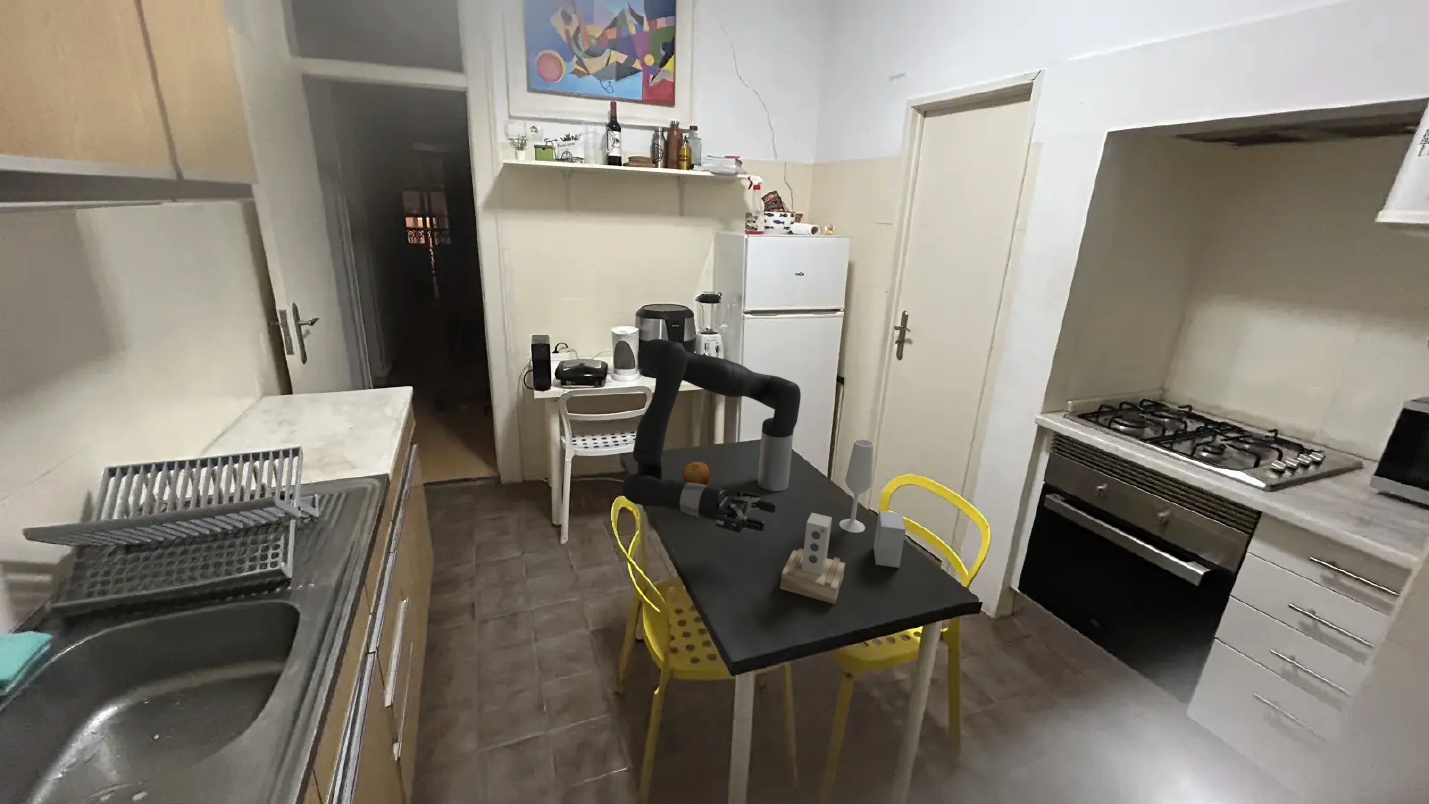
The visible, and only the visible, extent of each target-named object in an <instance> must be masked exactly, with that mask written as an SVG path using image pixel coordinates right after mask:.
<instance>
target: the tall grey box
mask: <svg viewBox="0 0 1429 804" xmlns="http://www.w3.org/2000/svg"><path fill="white" fill-rule="evenodd" d="M832 519H833V517H831V516H827V515H824V514H819V513H815V512H814V513H813V512H811V513H810V516H809V517H808V519H807V521H806V527H805V535H804V536H805V537H804V543H803V549H804V552H803V561H802V570H803V571H807V572H811V573H814V574H818V575H822V573H823V571H824V568H825V566H826V560H827V558H828V550H829V545H830V536H831V528H832V522H833V520H832Z"/></svg>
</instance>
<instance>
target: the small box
mask: <svg viewBox="0 0 1429 804" xmlns="http://www.w3.org/2000/svg"><path fill="white" fill-rule="evenodd" d="M905 525H906V524H905V521H904V517H903V513H901V512H893V511H887V510H878V515H877V522H876V528H875V535H874V541H873V551H874V552H873V553H874V561H875V565H876V566H882V567H883V566H885V567H891V568H900V566H901V559H902V556H903V555H902V554H903V546H904V544H905V543H904V542H905V536H906V526H905Z"/></svg>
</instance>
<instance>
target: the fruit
mask: <svg viewBox="0 0 1429 804" xmlns="http://www.w3.org/2000/svg"><path fill="white" fill-rule="evenodd" d="M710 476H711V473H710V468H709V466H708V464H706V463H704V462H703V461H702V462H701V461H693V462H691V463H688V464H687V465H686V466H685V467H684V469H683V470H682V478H683V480H684V481H685V482H689V483H698V484H703V485H707V486H708V483H709V480H710Z"/></svg>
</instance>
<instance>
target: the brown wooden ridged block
mask: <svg viewBox="0 0 1429 804" xmlns="http://www.w3.org/2000/svg"><path fill="white" fill-rule="evenodd" d="M803 552H804V548H800V547H799V548H798V550H796V549H793V551H792V552H791V554H790V556H789V558H788V560H787V562H786V564H785V566H784V568H783V569H782V572H781V577H780V589H781V590H783V591H784V590H785V591H787V592H791V593H794V594H797V595H798V594H799V595H800V596H801V595H802V596H805V597H809V598H812V599H816V600H817V601H818V600H819V601H822V602H826V603H829V604H832V605H835V604H836V602H837V598H838V595H839V592H840V589H841V586H842V583H843V580H844V576H845V575H844V574H845V566H846V562H842V561H841V558H840V557H836V556H834V558H833V559H831V558H828V557H827V560H826V566H825V568H824V571H823V573H822V575H818V574H814V573H811V572H807V571H803V570H802V561H803Z"/></svg>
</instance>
